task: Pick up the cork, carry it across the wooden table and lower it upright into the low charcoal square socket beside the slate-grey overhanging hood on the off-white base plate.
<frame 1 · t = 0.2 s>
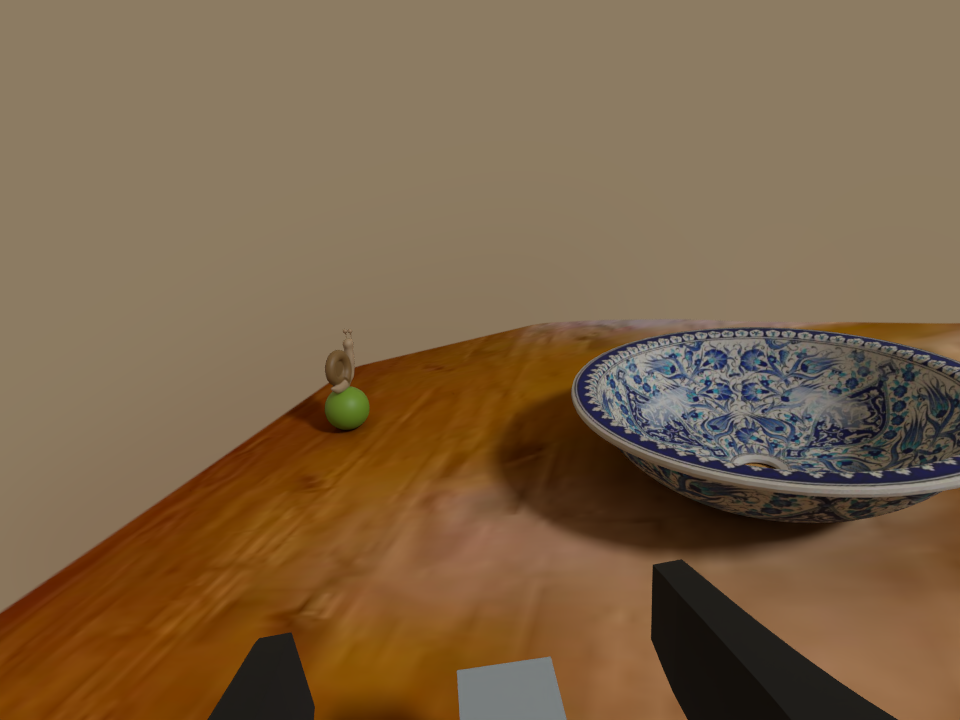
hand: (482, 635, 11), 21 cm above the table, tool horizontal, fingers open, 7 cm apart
snail figurine: (353, 426, 68), on the table
ceramic bowl: (755, 474, 51), on the table
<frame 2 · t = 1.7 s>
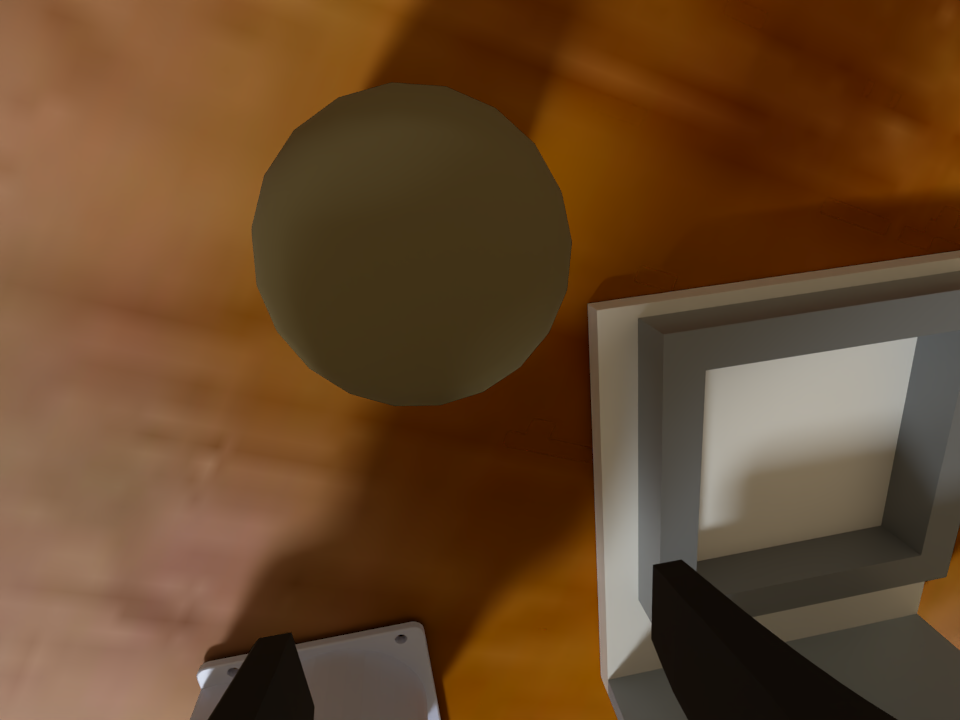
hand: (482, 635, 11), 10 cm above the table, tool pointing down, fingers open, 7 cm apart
socket block: (769, 475, 24), on the table
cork: (408, 211, 18), on the table
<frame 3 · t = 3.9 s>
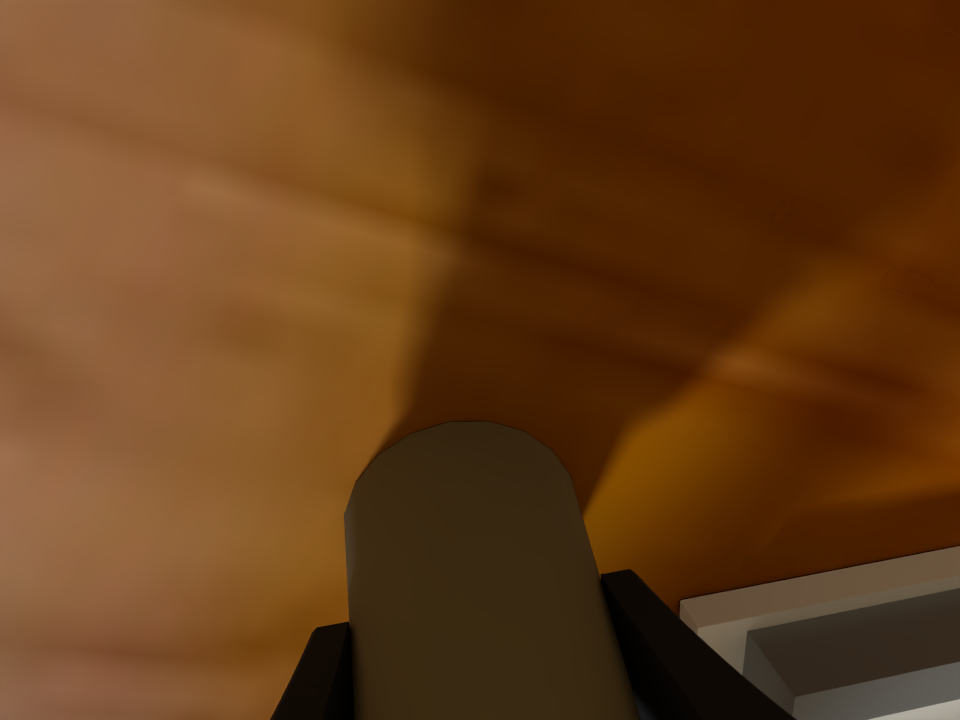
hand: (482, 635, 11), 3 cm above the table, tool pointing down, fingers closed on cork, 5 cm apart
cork: (463, 520, 14), on the table, touching gripper
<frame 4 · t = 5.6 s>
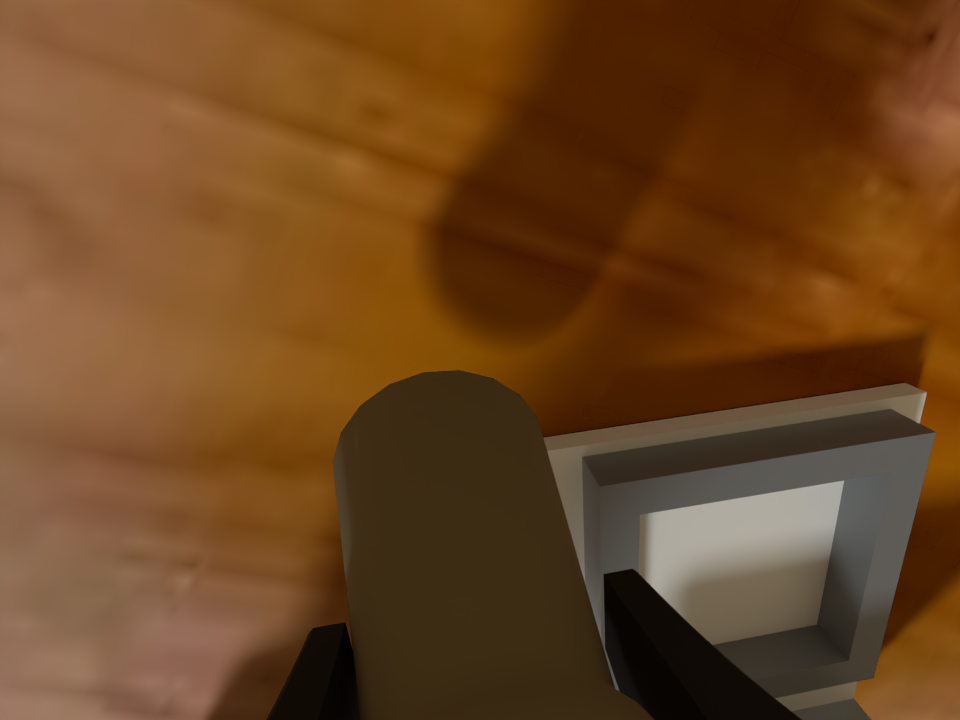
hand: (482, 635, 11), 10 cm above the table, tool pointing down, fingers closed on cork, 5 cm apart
socket block: (712, 579, 25), on the table
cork: (441, 462, 15), point 5 cm above the table, touching gripper
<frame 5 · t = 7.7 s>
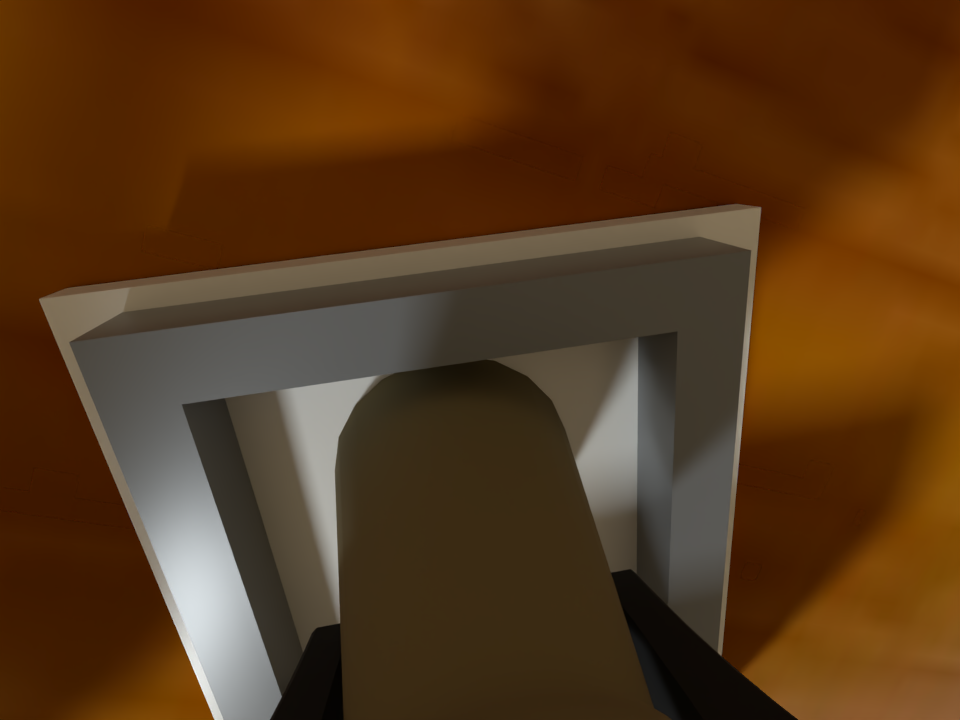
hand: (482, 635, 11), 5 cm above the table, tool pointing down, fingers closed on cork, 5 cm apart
socket block: (463, 544, 16), on the table
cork: (453, 460, 14), point 1 cm above the table, touching gripper, socket block
when the fingers open (5 cm above the table, at t = 8.3 s): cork stays where it is, resting on socket block.
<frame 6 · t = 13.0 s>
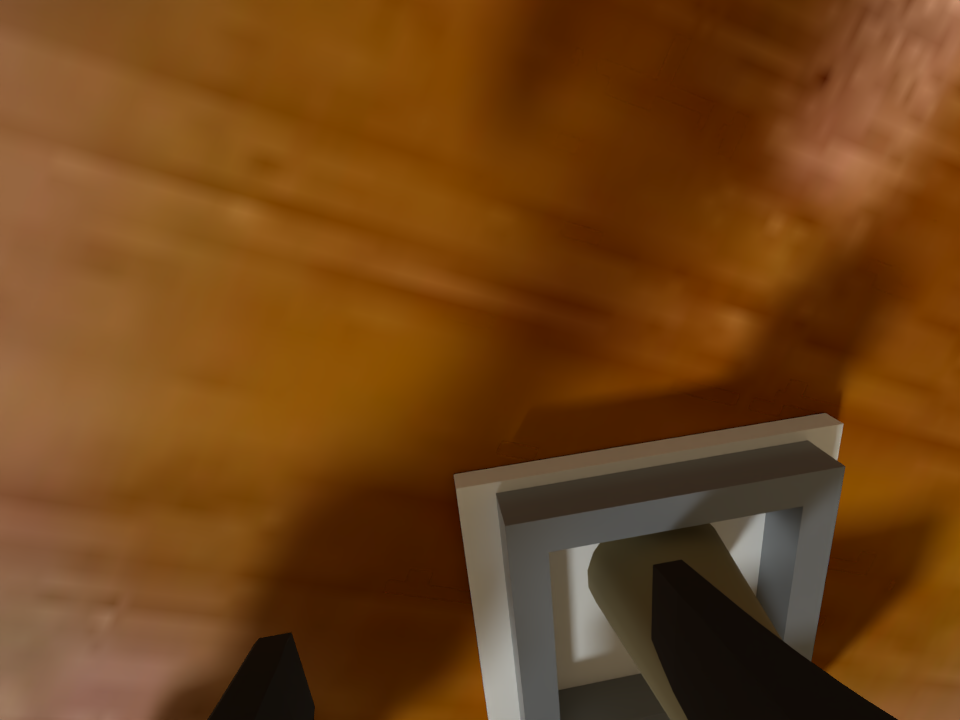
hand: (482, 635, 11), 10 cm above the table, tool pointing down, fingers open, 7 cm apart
socket block: (643, 607, 25), on the table
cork: (652, 562, 23), point 1 cm above the table, touching socket block
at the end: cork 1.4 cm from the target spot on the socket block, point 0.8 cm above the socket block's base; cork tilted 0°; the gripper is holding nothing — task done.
